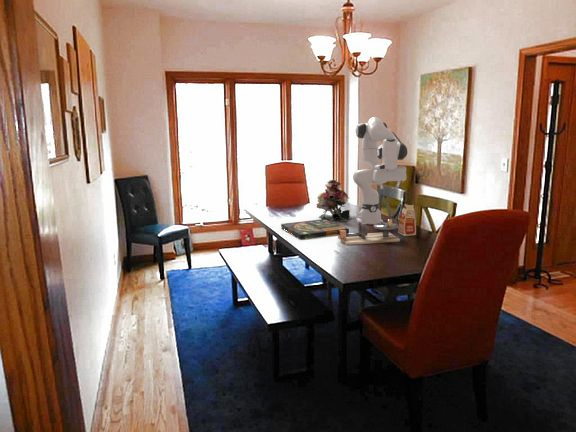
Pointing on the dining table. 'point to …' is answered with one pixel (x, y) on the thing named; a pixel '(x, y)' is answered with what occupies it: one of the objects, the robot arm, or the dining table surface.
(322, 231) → the pizza box
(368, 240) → the base board
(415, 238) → the dining table surface
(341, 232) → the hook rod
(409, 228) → the milk carton
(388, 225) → the handwheel
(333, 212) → the rose bouquet
